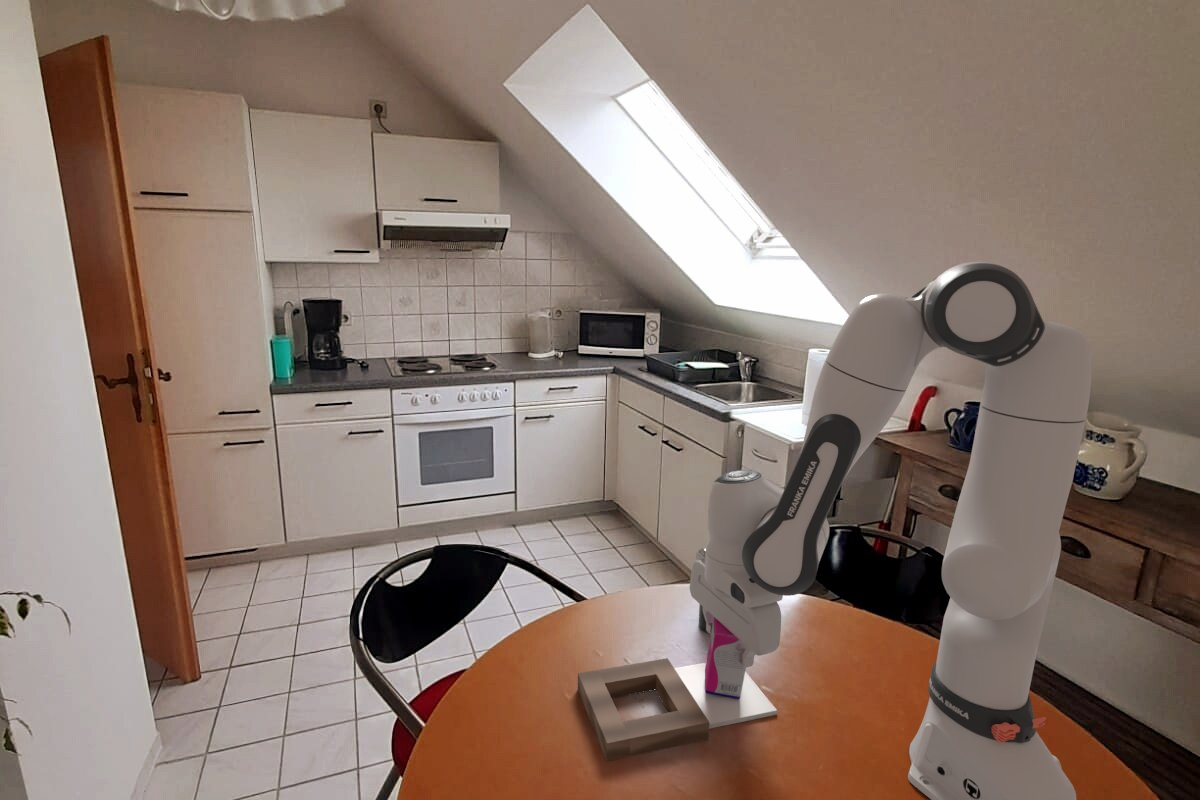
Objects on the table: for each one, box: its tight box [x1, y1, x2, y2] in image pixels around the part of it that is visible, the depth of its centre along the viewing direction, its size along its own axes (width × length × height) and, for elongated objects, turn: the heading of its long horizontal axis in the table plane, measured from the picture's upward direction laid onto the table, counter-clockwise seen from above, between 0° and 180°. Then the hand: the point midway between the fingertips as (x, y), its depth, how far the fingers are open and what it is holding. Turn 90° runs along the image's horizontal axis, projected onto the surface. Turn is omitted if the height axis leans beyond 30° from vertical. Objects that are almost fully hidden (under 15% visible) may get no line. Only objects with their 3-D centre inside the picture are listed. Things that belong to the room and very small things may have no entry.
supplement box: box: [705, 617, 747, 699], centre depth 104 cm, size 6×6×12 cm
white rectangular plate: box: [674, 662, 778, 730], centre depth 105 cm, size 14×12×1 cm
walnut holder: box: [577, 657, 710, 762], centre depth 100 cm, size 16×16×3 cm
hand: (728, 648), depth 103 cm, fingers open, 8 cm apart
